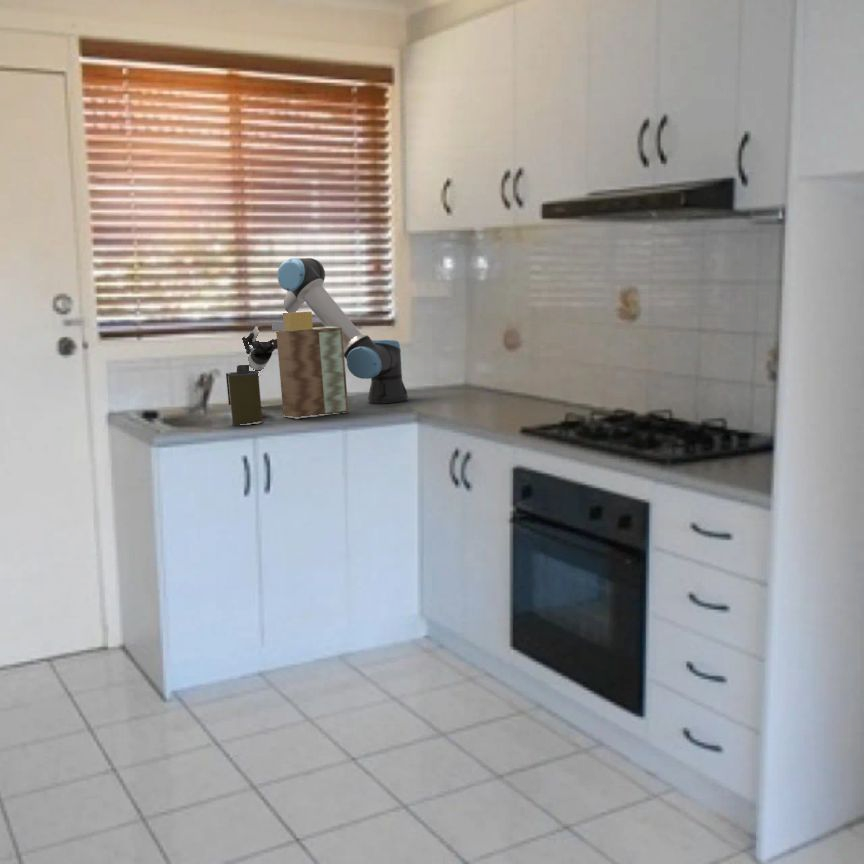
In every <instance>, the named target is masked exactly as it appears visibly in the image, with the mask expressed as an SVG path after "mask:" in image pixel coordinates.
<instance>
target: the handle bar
mask: <svg viewBox="0 0 864 864" xmlns="http://www.w3.org/2000/svg"><path fill="white" fill-rule="evenodd" d="M312 312H313V311H297V312H293V313H283V319H284V321H275V322H271V324H272V330H284V331H298V330H309V329H313V328H314V327H313V326H314V325H313V323H314V322H313V313H312Z"/></svg>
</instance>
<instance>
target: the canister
mask: <svg viewBox="0 0 864 864" xmlns="http://www.w3.org/2000/svg"><path fill="white" fill-rule="evenodd" d="M249 366H251V365H238V364H237V365H236V371H235V372H226V373H225V378H226V387H227V388H226V391H227V401H228V406H230V409H231V410H230V411H231V420H232V421H231V424H232V426H234V425H240V424H247V423H253V422H258V421H263V413H262V411H263V410H262V402H261V401H262V400H261V389H260V377H259V376H258V373H259V372H258V371H249Z"/></svg>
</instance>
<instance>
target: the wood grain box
mask: <svg viewBox="0 0 864 864" xmlns="http://www.w3.org/2000/svg"><path fill="white" fill-rule="evenodd" d="M276 334H277V335H276V339H277V346H278V349H277V356H278V369H279V377H280V378H279V380H280V389H281V390H280V391H281V402H282V411H283V412H282V416H283V415H285V416H293V417H301V416H310V415H319V414H333V413H343V412H348V413H349V403H348V389H347V375H346V373H347V372H346V363H345V362H346V361H345V360H346V359H345V357H344V347H343V333H342V328H340V327H325V326H318V327H313V329H309V330H298V331H284V330H281V331H279V332H276Z"/></svg>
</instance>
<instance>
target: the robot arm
mask: <svg viewBox="0 0 864 864" xmlns="http://www.w3.org/2000/svg"><path fill="white" fill-rule="evenodd" d="M325 279H326V271H325V268H324V266H323V264H322V263H321V262H320V261H319V260H317V259H315V258H311V257H306V258H305V257H304V258H301V257H300V258H297V257H293V258H289V259H285V260H284V261H283V262H282V263H281V264H280V265H279V266H278V269H277V281H278V284H279V286H280V287H281V288H282V289H283V290H285V291H286V293H287V294H286V293H285V294H286V297H285V300H284V307H285V310H286V311H287V312H288V313H293V312H296V311H297V312H298V311H299V310H300V308H301V307H302V306H303V305H304V303H305V304H306V305H307V306H308V307H309V309H310V310H311V312H313V313H314V315H315V316H316V318H318V320H319V321H320V322H321V324H322V325H323V327H340V328H342V333H343V347H344V359H345V360H346V367H347V369H348V371H349V372H350V374H352V376H354V377H356V378H358V379H362V380H365V379H366V380H368V379H370V380H371V381H370V388H369V390H368V395H367V403H368V404H377V405H378V404H379V405H381V404H395V403H396V404H397V403H402V402H403V403H404V402H407V401H408V400H409V396H408V395H409V394H408V391H407V389H406V386H405V383H404V381H403V374H402V361H401V360H402V357H401V350H402V348H401V347H400V346H401V345H400V342H399V341H398V340H396V339H373V340H372V339H371V338H370V336H369V335H367V334H366V335H365V334H362V333H361V332H360V330H359V329H357V327H356V325H355V324H354V323H353V322H352V321H351V319H350V318H349V317H348V316H347V315H346V313H345V312H344V310H342V308H341V307H340V306H339V305H338V303H337V302H336V301H335V300H334V299H333V298H332V296H331V295H330V294H329V292H328V291H327V290H326V289H325V288H324V286H323V285H324V284H323V283H324V282H325ZM258 327H259V326H257V325H256V326H255V327H254V329H253V330H252V332H250V333H249V335H248V337H247V338H245V337H246V336H243V338H242V340H243V343H244V346H245V349H246V353H247V354H249V357H248V361H249V365H251V366H250V367H251V368H253V370H254V369H255V371H261V370H262V369H265V368H266V366H267V364H268V362H269V361H270V359H271V358H272V355H273V352H274V351H275V350H278V346H277V338H274V339H272V340H270V341H268V342H259V341H256V338H257V336H258V334H259V330H258ZM248 342H249V344H248ZM249 345H252V346H253V348H251V347H250V346H249ZM264 367H265V368H264Z"/></svg>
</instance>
